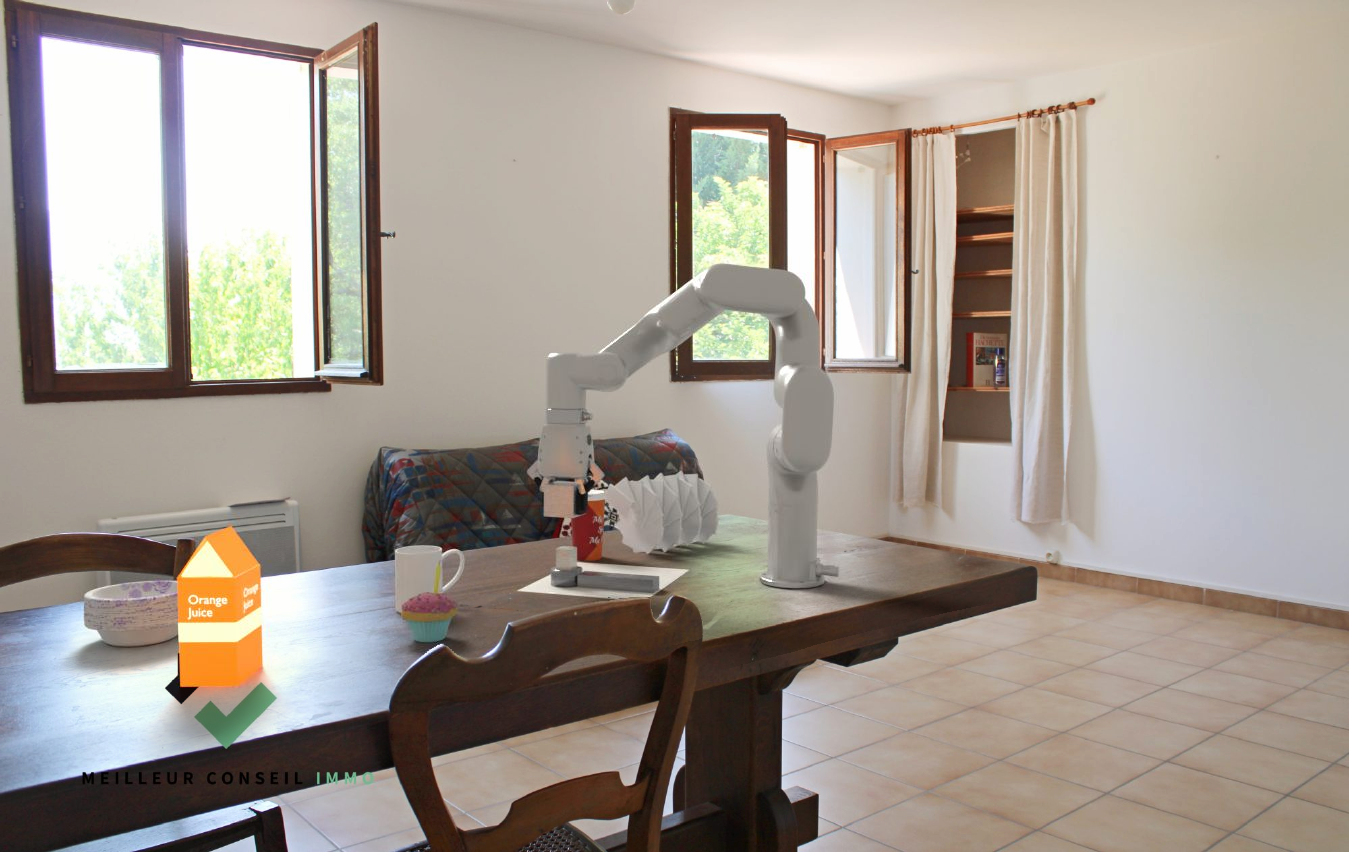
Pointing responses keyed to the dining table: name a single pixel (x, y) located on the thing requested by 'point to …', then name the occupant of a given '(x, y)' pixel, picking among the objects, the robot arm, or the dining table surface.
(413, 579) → the mug
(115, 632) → the paper bowls
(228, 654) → the orange juice
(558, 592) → the white square board
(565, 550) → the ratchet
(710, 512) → the white pleated paper lantern
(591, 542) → the coffee cup
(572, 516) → the light gray cube
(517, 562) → the dining table surface
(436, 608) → the cupcake
